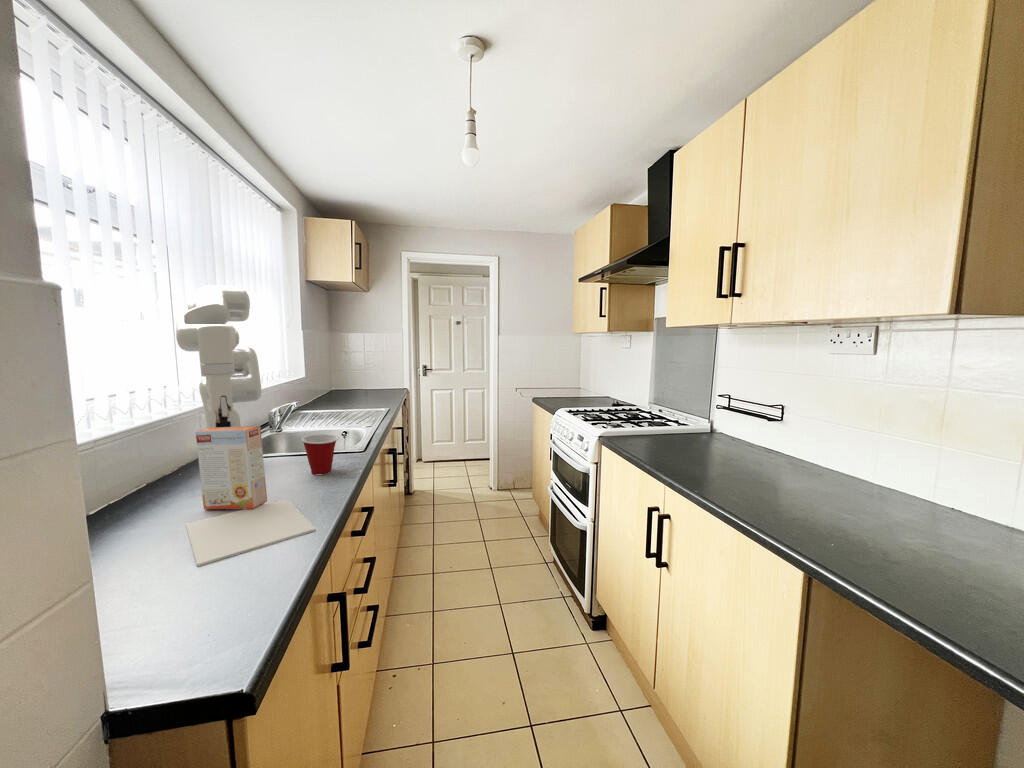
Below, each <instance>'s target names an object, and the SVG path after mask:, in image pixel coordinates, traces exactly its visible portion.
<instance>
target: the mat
mask: <svg viewBox="0 0 1024 768" xmlns="http://www.w3.org/2000/svg"><path fill="white" fill-rule="evenodd" d="M185 528H186V531H187V535H188V539H189V542H190V546H191V548H192V552H193V555H194V560H195V562H196V563H195V564H196V567H197V566H198V567H201V566H200V565H202V566H205V565H208V564H211V563H215V562H217V560H218V561H220V559H221V560H224V559H227V558H226V557H228V558H230V556H231V557H233V556H232V555H234V556H237V555H236V554H238V555H241V554H243V553H244V554H245V553H247V552H251V551H254V550H256V549H260V548H263V547H267V546H270V545H274V544H277V543H279V542H283V541H287V540H289V538H290V539H293V538H296V537H300V536H303V535H305V534H309V533H313V532H316V527H315V526H314V525H313V524H312V523H311V522H310V521H309V520H308V519H307V518H306V517H305V516H304V514H302V512H300V511H299V510H298V509H297V507H295V505H294V504H293V503H292V502H290V500H289V499H288V498H286V499H281V500H278V501H274V502H269V503H265V504H261V505H259V506H257V507H255V508H253V509H239V510H237V511H233V512H229V513H226V514H221V515H220V514H219V515H217V516H212V517H209V518H204V519H200V520H197V521H192V522H188V523H186V524H185ZM286 539H287V540H286ZM273 543H274V544H273ZM240 553H241V554H240ZM214 561H215V562H214ZM204 564H205V565H204Z"/></svg>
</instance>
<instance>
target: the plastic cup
mask: <svg viewBox="0 0 1024 768" xmlns="http://www.w3.org/2000/svg"><path fill="white" fill-rule="evenodd" d="M338 437H339V436H337V435H334V434H329V433H319V434H318V433H317V434H310V435H309V434H308V435H306V436H303V437H301V441H302V443H303V446H304V449H305V452H306V458H307V461H308V464H309V467H310V472H311V474H312V475H313V474H325V473H328V472H330V471H332V468H333V462H334V455H335V454H334V453H335V447H336V443H337V441H338V439H339V438H338ZM330 473H331V472H330ZM328 474H329V473H328ZM325 475H326V474H325Z"/></svg>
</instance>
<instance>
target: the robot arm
mask: <svg viewBox="0 0 1024 768" xmlns="http://www.w3.org/2000/svg"><path fill="white" fill-rule="evenodd" d="M250 300H251V299H250V297H249V294H248V292H247V291H246V289H244V288H243V287H240V286H233V285H232V286H231V285H229V286H228V285H213V284H212V285H211V284H209V285H203V286H202V287H200V288H198V289H197V290H196V292H195V297H193V298H191V299H190V300H189V301H188V302H187V309H188V310H186V311H185V312H184V313H182V314H181V315H180V316H179V317H178V319H177V322H176V333H175V334H176V335H175V336H176V341H177V345H178V346H179V348H180V349H181V350H183V351H185V352H191V353H192V352H198V354H199V365H200V375H201V377H205V378H204V379H202V380H201V382H200V383H199V386H198V387H199V395H200V398H201V400H202V401H201V402H202V406H203V409H204V416H205V425H206V426H205V427H206V429H207V428H213V427H242V426H241V418H240V413H238V411H237V410H236V409H235V408H234V404H235V403H236V404H237V403H248V402H255V401H259V400H260V399H261V397H262V393H263V392H262V382H261V374H260V368H259V360H258V357H257V353H256V351H255V349H253V348H252V347H249V346H248V347H247V346H238V345H240V334H239V332H238V330H237V329H236V328H235V327H234V326H233V325H229V324H227V323H228V322H245V321H247V320H248V318H249V316H250V309H251V301H250Z"/></svg>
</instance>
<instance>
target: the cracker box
mask: <svg viewBox="0 0 1024 768" xmlns="http://www.w3.org/2000/svg"><path fill="white" fill-rule="evenodd" d="M195 439H196V447H197V448H196V449H197V456H198V457H197V458H198V466H199V467H198V468H199V475H200V476H199V477H200V484H201V486H200V487H201V495H202V496H201V497H202V505H203V510H244V509H253V508H255V507H257V506H261V505H264V503H265V504H266V502H268V495H267V485H266V474H265V462H264V452H263V441H262V430H261V426H260V425H256V426H255V425H254V426H252V425H251V426H241V427H213V428H207V427H206V428H204V429H201V430H196V431H195Z"/></svg>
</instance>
